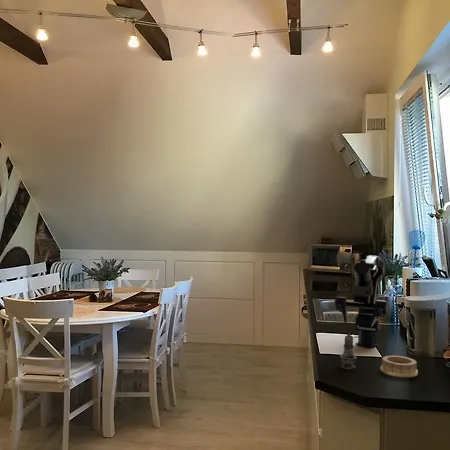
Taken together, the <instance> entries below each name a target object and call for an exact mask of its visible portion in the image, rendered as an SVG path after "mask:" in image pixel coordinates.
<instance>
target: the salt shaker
mask: <svg viewBox="0 0 450 450" xmlns="http://www.w3.org/2000/svg"><path fill="white" fill-rule="evenodd" d="M354 348H355V346H354V337H353V336H352V335H351V333H350V332H348V334H347V335H345V336H344V344H343V354H340V355H339V358H340V361H341V362H342V364H340V366H339V367H340V368H342V369H346V370H355V369H356V368H357V366H355V365H354V364H355V363H356V361H357V359H358V357H357V356H356V355H355V354H354Z"/></svg>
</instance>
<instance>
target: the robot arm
mask: <svg viewBox="0 0 450 450" xmlns="http://www.w3.org/2000/svg"><path fill="white" fill-rule="evenodd" d="M365 257H366V258H365V259H360V260H359V261H358V262H357V263H355V264H354V265H353V273H354V277H355V283H356V284H355V285H354V286H352V287H353V288H352V301H351V300H348V299H347V297H346V296H336V297H335V298H334V306H335V310H337V311H338V312H339V313H342V317H343V322H344V325H346V324H347V322H348V321H347V319H348V307H351V308H358V310H357V311H358V312H357V314H356V315H355V331H358V334H357V335H358V336H357V339H358V341H357V342H355V345H356V346H358V347H359V346H360V347H363V348H367V349H369V348H375V347H378V344H377V336H376V333H379V332H380V321H379V318H381V317H384V316H387V315H388V302H387V301H386V300H383V299H382V300H380V299H376V296H377V290H378V285H379V284H380V283H381V282H382V281H383V277H384V276H385V273H386V271H385V269H386V268H385V264H384V262H383V261H382V260H381V259H380V256H378V255H366V256H365Z"/></svg>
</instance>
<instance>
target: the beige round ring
mask: <svg viewBox="0 0 450 450" xmlns="http://www.w3.org/2000/svg"><path fill="white" fill-rule="evenodd" d="M381 360H382V361H381V365H380V371H381V372H382V373H383V374H385V375H388V376H392V377H396V378H404V379H405V378H414V377H418V373H419V371H418V369H417V364H418V363H417V362H418V361H416V360H415V359H414V358H410V357H408V356H402V355H386V356H383V357H382V359H381Z"/></svg>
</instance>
